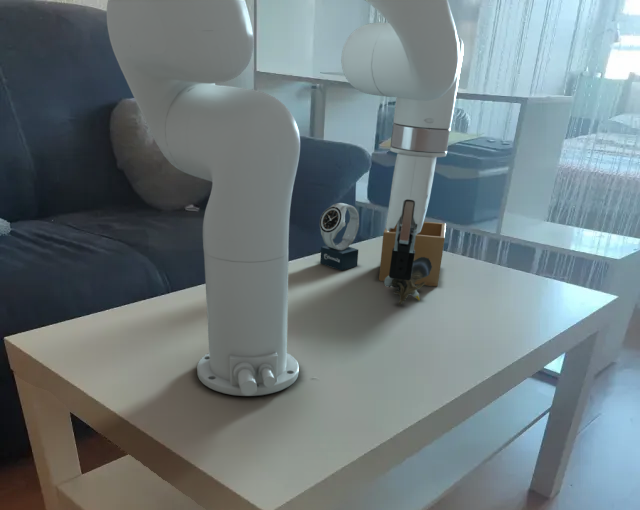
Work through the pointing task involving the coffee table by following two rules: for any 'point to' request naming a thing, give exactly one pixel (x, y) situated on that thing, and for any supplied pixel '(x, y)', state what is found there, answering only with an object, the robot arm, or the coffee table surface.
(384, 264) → the box
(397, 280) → the eagle figurine
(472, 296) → the coffee table surface
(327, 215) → the watch
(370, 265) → the coffee table surface
